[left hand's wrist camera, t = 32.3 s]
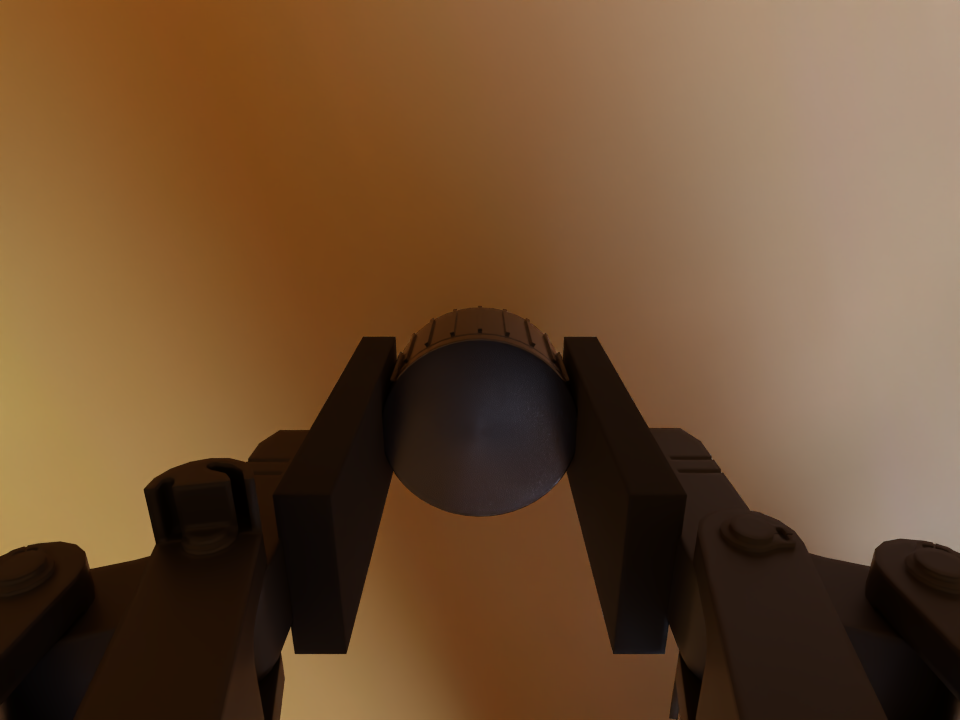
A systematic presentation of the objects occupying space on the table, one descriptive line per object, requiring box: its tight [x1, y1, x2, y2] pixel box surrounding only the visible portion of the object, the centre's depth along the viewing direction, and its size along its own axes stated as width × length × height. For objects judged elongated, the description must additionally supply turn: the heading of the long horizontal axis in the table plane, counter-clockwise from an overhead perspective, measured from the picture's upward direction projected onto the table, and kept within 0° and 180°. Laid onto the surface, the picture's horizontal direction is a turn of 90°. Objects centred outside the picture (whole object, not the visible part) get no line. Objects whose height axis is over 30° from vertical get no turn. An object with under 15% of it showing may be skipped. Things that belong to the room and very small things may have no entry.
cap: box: [382, 306, 578, 517], centre depth 13 cm, size 4×4×2 cm
